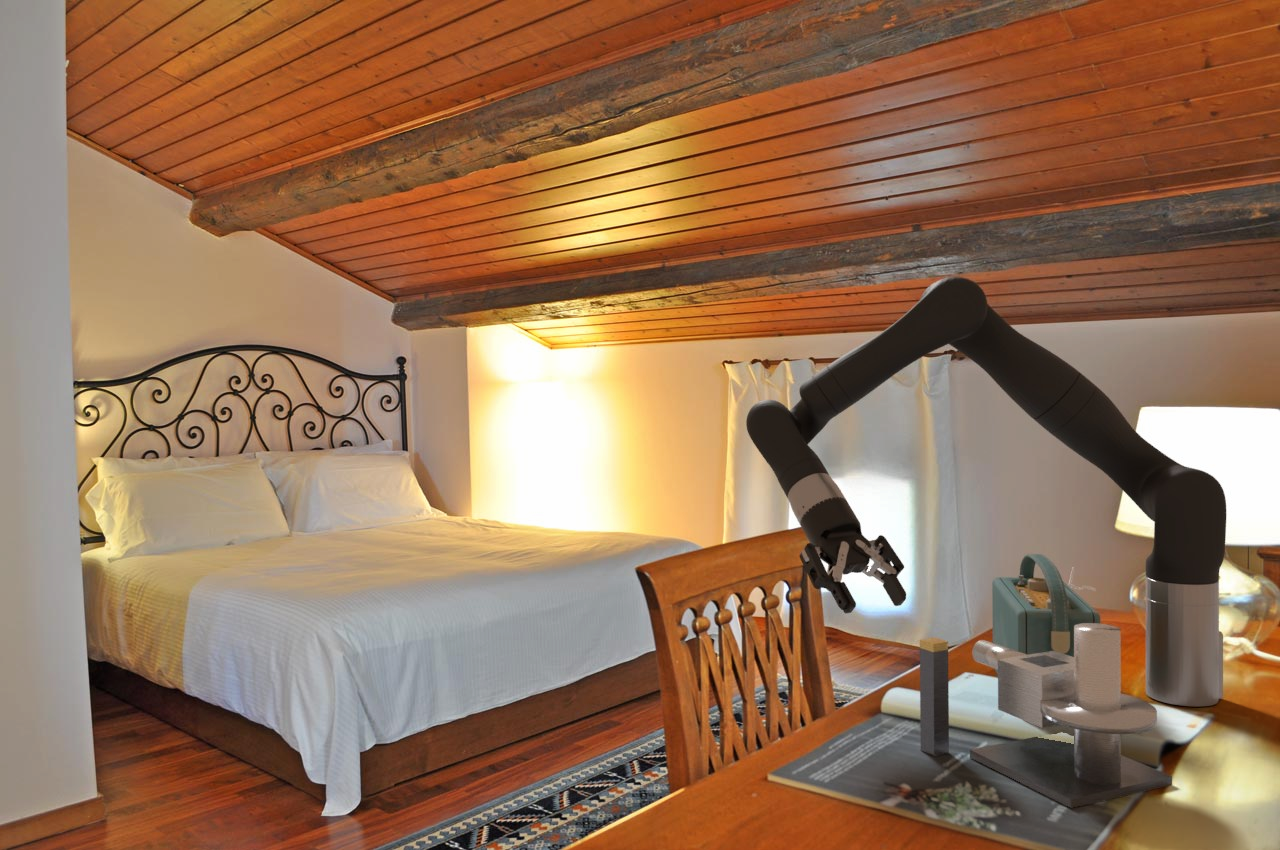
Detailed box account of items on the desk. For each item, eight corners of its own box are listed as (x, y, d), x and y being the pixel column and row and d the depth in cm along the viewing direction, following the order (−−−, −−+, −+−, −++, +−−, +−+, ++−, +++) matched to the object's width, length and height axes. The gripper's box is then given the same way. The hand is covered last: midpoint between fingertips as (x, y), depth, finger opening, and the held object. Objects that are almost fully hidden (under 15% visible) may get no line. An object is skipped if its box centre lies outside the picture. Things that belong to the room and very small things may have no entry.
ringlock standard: (1026, 723, 133) (1026, 590, 133) (1191, 793, 110) (1192, 632, 109) (935, 740, 128) (934, 601, 127) (1089, 817, 105) (1088, 648, 104)
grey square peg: (935, 746, 126) (934, 637, 125) (948, 752, 124) (948, 641, 123) (920, 750, 125) (919, 639, 124) (934, 756, 123) (933, 644, 122)
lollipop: (1088, 638, 176) (1088, 571, 176) (1035, 629, 183) (1035, 564, 182) (1101, 631, 180) (1101, 566, 180) (1049, 623, 187) (1049, 560, 187)
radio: (1104, 724, 132) (1104, 576, 132) (1019, 721, 135) (1018, 574, 134) (1062, 669, 158) (1062, 544, 157) (991, 667, 160) (990, 543, 159)
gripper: (792, 499, 137) (846, 596, 127) (873, 492, 144) (931, 584, 134) (771, 532, 142) (821, 628, 132) (850, 524, 148) (904, 615, 139)
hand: (876, 606), depth 133 cm, fingers open, 8 cm apart
